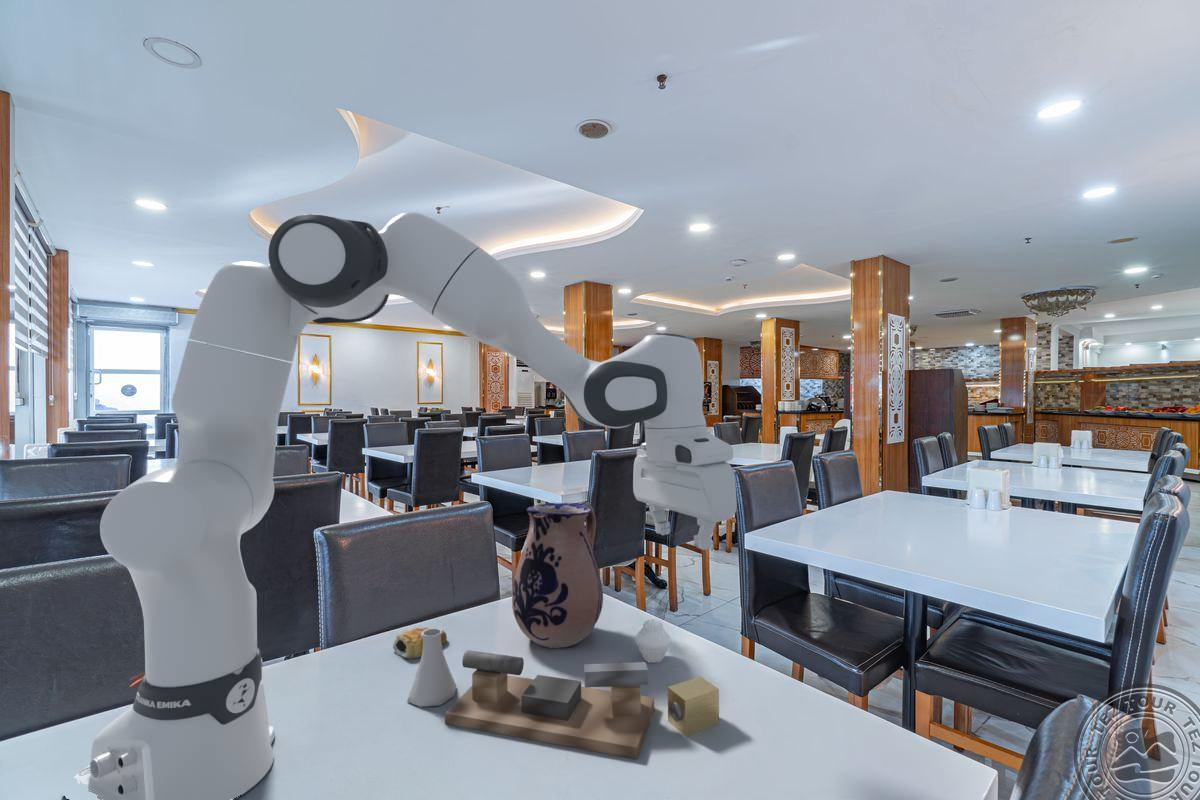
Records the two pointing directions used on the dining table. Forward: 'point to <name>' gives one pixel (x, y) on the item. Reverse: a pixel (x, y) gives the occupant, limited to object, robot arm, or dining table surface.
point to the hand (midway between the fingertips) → (681, 540)
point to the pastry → (412, 643)
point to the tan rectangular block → (693, 705)
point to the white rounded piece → (653, 640)
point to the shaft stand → (557, 704)
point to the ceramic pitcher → (558, 576)
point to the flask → (432, 673)
